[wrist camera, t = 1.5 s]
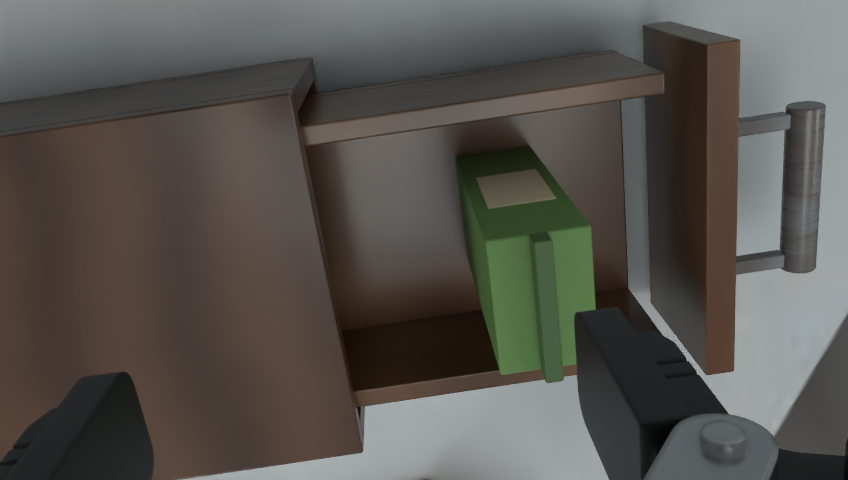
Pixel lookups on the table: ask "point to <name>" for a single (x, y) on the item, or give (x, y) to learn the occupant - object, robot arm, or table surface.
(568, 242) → the green carton
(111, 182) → the cabinet
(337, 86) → the table surface
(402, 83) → the drawer
